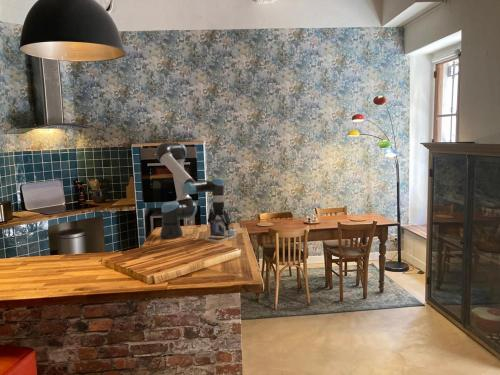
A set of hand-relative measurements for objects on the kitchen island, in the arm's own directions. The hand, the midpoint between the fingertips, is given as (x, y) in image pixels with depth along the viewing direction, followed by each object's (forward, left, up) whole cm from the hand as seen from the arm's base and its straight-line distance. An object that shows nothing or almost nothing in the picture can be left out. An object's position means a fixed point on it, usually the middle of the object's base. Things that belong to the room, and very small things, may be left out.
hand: (219, 234), depth 271 cm
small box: (0, 0, -1) cm, 1 cm away
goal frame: (0, 0, -3) cm, 3 cm away
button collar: (-7, +13, -3) cm, 15 cm away
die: (+2, +11, -3) cm, 12 cm away
